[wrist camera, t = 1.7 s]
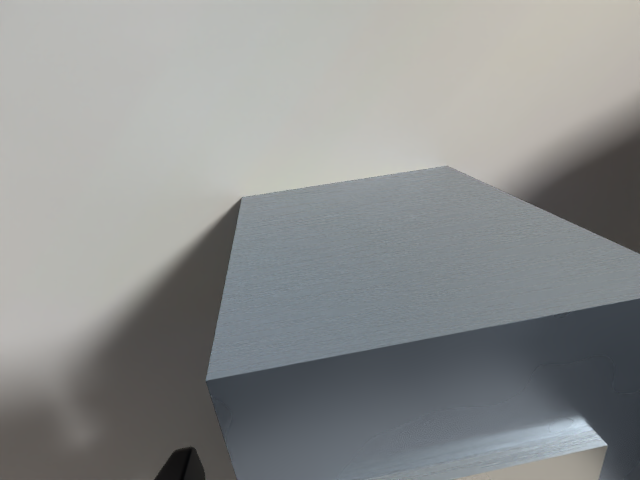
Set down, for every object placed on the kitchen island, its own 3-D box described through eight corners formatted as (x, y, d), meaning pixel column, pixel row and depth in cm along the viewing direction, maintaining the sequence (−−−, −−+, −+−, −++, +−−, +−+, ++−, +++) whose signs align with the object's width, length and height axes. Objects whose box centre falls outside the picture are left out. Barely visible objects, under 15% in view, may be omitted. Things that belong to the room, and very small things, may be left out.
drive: (444, 164, 9) (731, 296, 4) (440, 444, 13) (572, 715, 8) (242, 195, 9) (202, 397, 3) (301, 474, 13) (329, 783, 7)
